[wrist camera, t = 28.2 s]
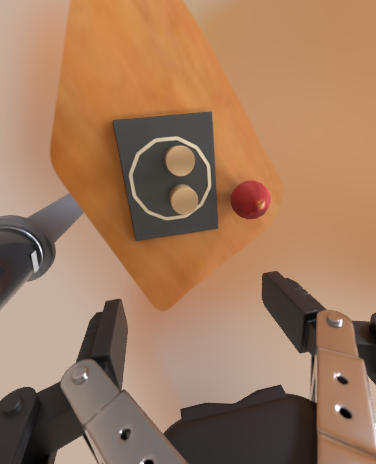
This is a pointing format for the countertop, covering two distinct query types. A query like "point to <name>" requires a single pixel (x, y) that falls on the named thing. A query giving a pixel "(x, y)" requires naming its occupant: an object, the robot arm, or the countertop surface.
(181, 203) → the dot
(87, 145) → the countertop surface
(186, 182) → the slate board
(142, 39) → the countertop surface
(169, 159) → the dot
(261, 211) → the onion
